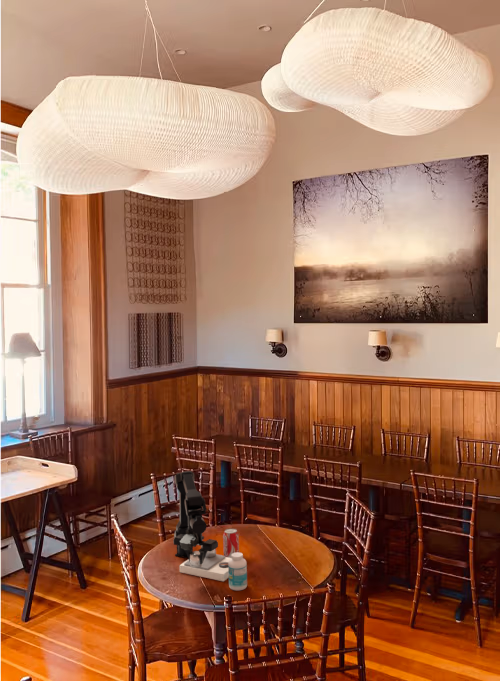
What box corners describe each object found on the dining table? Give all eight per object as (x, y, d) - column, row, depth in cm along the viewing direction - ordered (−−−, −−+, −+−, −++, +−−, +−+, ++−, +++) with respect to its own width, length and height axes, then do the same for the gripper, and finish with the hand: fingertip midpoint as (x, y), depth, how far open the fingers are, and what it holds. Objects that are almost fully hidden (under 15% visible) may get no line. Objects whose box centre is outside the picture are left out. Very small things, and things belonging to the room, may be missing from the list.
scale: (179, 572, 263) (179, 563, 263) (199, 558, 277) (199, 550, 277) (223, 581, 253) (223, 572, 253) (242, 566, 267) (241, 558, 267)
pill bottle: (228, 583, 251) (227, 551, 250) (246, 582, 251) (245, 550, 251) (229, 591, 243) (228, 558, 243) (247, 590, 244) (247, 557, 243)
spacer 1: (187, 566, 252) (187, 554, 251) (194, 562, 256) (194, 550, 256) (197, 568, 249) (197, 556, 249) (204, 564, 254) (204, 552, 254)
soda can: (237, 560, 275) (236, 533, 274) (221, 559, 276) (221, 533, 275) (240, 553, 281) (239, 528, 281) (225, 553, 283) (225, 527, 282)
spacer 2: (202, 557, 269) (202, 546, 269) (208, 553, 274) (208, 542, 273) (212, 559, 267) (211, 547, 267) (218, 554, 271) (217, 543, 271)
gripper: (165, 528, 249) (166, 566, 250) (203, 535, 241) (204, 574, 241) (180, 520, 259) (181, 556, 260) (218, 526, 250) (219, 563, 251)
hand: (196, 562), depth 253 cm, fingers closed on spacer 1, 5 cm apart
